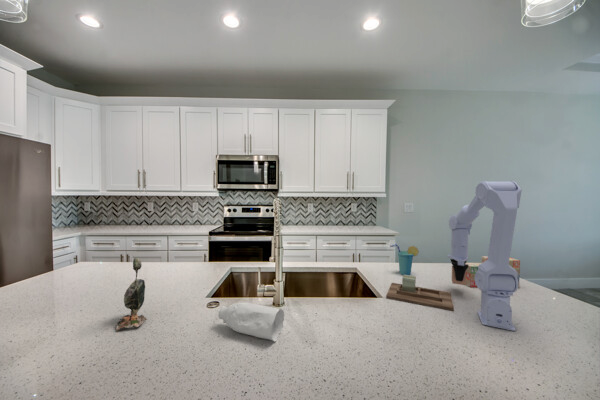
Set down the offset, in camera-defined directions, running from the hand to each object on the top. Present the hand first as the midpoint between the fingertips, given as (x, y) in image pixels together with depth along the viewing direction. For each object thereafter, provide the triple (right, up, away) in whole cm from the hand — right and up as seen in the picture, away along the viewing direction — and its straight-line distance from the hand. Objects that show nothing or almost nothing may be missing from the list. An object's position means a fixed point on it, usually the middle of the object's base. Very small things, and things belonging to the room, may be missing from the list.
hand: (458, 278), depth 102 cm
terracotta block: (0, -2, 0) cm, 2 cm away
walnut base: (-18, -6, -4) cm, 19 cm away
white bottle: (-78, -6, -32) cm, 85 cm away
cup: (-13, -5, +24) cm, 27 cm away
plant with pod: (-115, -5, -26) cm, 118 cm away
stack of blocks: (+20, -6, +9) cm, 23 cm away
